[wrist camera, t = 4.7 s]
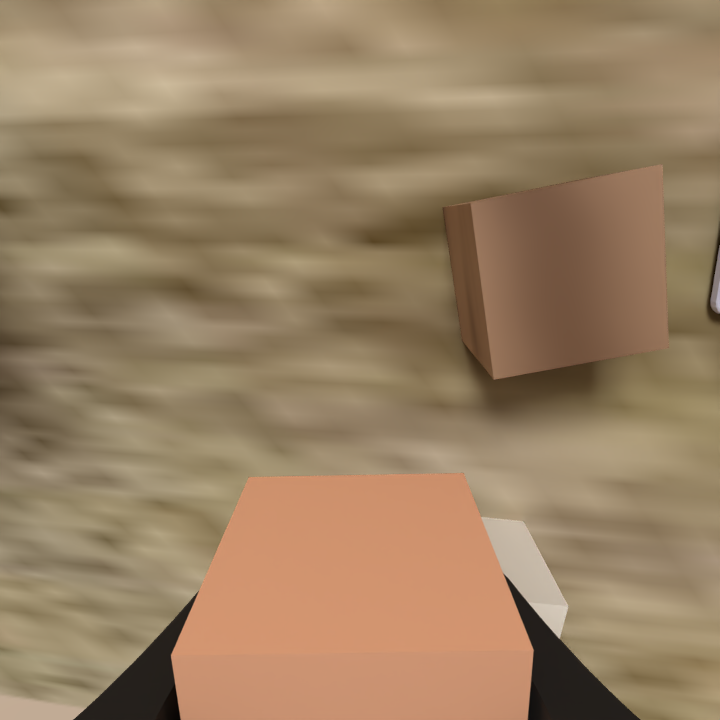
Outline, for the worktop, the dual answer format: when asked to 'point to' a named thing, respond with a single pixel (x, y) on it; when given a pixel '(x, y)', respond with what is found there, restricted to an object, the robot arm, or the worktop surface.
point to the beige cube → (527, 570)
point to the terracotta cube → (354, 607)
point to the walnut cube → (562, 272)
